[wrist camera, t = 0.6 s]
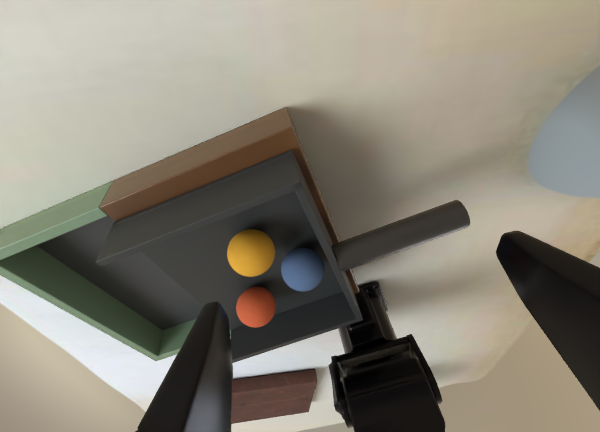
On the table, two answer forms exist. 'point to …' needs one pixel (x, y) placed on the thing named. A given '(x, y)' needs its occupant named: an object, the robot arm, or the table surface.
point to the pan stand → (215, 169)
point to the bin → (97, 277)
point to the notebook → (272, 395)
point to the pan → (285, 236)
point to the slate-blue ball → (302, 269)
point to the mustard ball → (251, 252)
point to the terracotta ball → (256, 307)
